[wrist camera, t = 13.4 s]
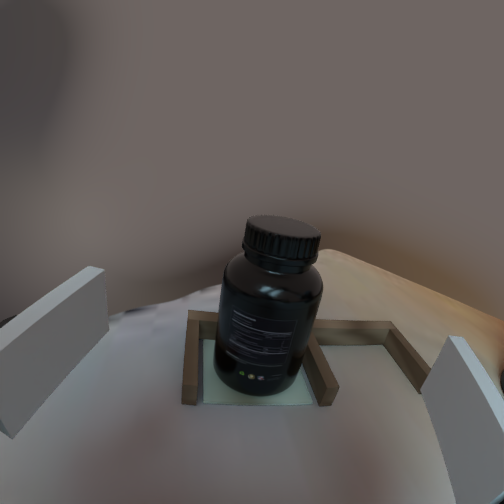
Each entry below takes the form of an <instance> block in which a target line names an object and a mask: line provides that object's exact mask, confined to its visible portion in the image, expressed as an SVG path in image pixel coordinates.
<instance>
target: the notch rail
mask: <svg viewBox="0 0 504 504" xmlns="http://www.w3.org/2000/svg"><path fill="white" fill-rule="evenodd" d="M217 319H218V313H215V312H204V311H194V310H188V320H187V331H186V343H185V355H184V369H183V383H182V404H187V405H196V401H197V389H198V345H199V339H203V403H207V404H226V405H308V404H312V403H313V402H312V399H311V396H310V394H309V391H308V388H307V386H306V383H305V380H304V378H303V375H302V372H301V370H300V369H299V372H298V375H297V377H296V380H295V381H294V383H293V384H292V385H291V386H290V387H289V388H288V389H286V390H285V391H283V392H281V393H279V394H276V395H272V396H265V397H257V396H249V395H245V394H242V393H239V392H237V391H235V390H233V389H231V388H229V387H228V386H227V385H225V384H224V383H223V382H222V381H221V380H220V379H219V377H218V376H217V374H216V372H215V370H214V366H213V355H214V345H215V336H216V328H217ZM381 344H383V345H384V346H385V348H386V349H387V350H388V352H389V353H390V354H391V356H392V357H393V358H394V360H395V361H396V362H397V364H398V365H399V367H400V368H401V369H402V371H403V372H404V373H405V375H406V376H407V378H408V379H409V380H410V382H411V383H412V385H413V386H414V387H415V389H416V390H417V392H418V393H419V394H422V393H421V391H420V389H421V387H422V385H423V384H424V382H425V380H426V378H427V376H428V375H429V373H430V371H431V368H430V367H429V366H428V365H427V364H426V362H425V361H424V360H423V359H422V357H421V356H420V355H419V354H418V353H417V351H416V350H415V349H414V348H413V347H412V346H411V344H410V343H409V342H408V341H407V340H406V338H405V337H404V336H403V335H402V334H401V333H400V331H399V330H398V329H397V328H396V327H395V326H394V324H393V323H392V322H391V321H348V320H320V319H315V322H314V325H313V328H312V332H311V335H310V338H309V341H308V345H307V348H306V351H305V354H304V357H303V360H302V364H303V366H304V369H305V371H306V374H307V376H308V379H309V382H310V384H311V387H312V389H313V392H314V394H315V397H316V399H317V402H318V405H319V406H331V405H332V403H333V400H334V398H335V396H336V394H337V392H338V390H339V385H338V383H337V381H336V379H335V377H334V375H333V373H332V371H331V369H330V367H329V364H328V362H327V360H326V358H325V356H324V354H323V352H322V350H321V348H320V346H319V345H381Z"/></svg>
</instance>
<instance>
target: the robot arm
mask: <svg viewBox="0 0 504 504" xmlns="http://www.w3.org/2000/svg"><path fill="white" fill-rule="evenodd" d="M108 331H109V322H108V312H107V298H106V283H105V270H104V269H100V268H96V267H92V266H88V267H86V268H85V269H84V270H82V271H80V272H79V273H77V274H76V275H74V276H73V277H72V278H70V279H68V280H67V281H66V282H64V283H62V284H61V285H60V286H58V287H57V288H55V289H54V290H52V291H51V292H49V293H48V294H47V295H45V296H44V297H43V298H41V299H40V300H38V301H37V302H35V303H34V304H33V305H31V306H30V307H28V308H27V309H26V310H24V311H23V312H22V313H20V314H19V315H15V316H13V317H10V318H7V319H5V320H3V321H2V322H0V431H2V432H3V433H4V434H6V435H7V436H8V437H10V438H11V439H13V438H14V437H15V436H16V435H17V433H18V432H19V431H20V430H21V429H22V427H23V426H24V425H25V424H26V423H27V421H28V420H29V419H30V418H31V417H32V415H33V414H34V413H35V412H36V411H37V410H38V408H39V407H40V406H41V405H42V404H43V403H44V402H45V400H46V399H47V398H48V397H49V396H50V395H51V393H52V392H53V391H54V390H55V389H56V388H57V387H58V386H59V384H60V383H61V382H62V381H63V380H64V379H65V378H66V377H67V375H68V374H69V373H70V372H71V371H72V370H73V369H74V368H75V367H76V365H77V364H78V363H79V362H80V361H81V360H82V359H83V358H84V357H85V356H86V354H87V353H88V352H89V351H90V350H91V349H92V348H93V347H94V346H95V345H96V344H97V343H98V341H99V340H100V339H101V338H102V337H103V336H104V335H105V334H106V333H107V332H108ZM501 383H502V388H503V391H504V370H503V372H502V375H501ZM420 391H421V393H422V396H423V399H424V401H425V404H426V407H427V410H428V412H429V415H430V418H431V421H432V424H433V427H434V429H435V432H436V435H437V438H438V441H439V445H440V448H441V451H442V454H443V457H444V460H445V464H446V467H447V471H448V474H449V478H450V481H451V485H452V488H453V492H454V496H455V500H456V504H504V400H503V399H502V397H501V395H500V393H499V392H498V390H497V388H496V387H495V385H494V383H493V382H492V380H491V379H490V377H489V375H488V374H487V372H486V371H485V369H484V368H483V366H482V364H481V363H480V361H479V360H478V358H477V357H476V355H475V354H474V352H473V351H472V349H471V348H470V346H469V345H468V343H467V342H466V341H465V339H464V338H463V337H457V336H449V335H448V338H447V340H446V342H445V344H444V346H443V348H442V350H441V352H440V354H439V356H438V358H437V360H436V362H435V363H434V365H433V367H432V369H431V371H430V373H429V375H428V376H427V378H426V380H425V382H424V384H423V385H422V387H421V389H420Z"/></svg>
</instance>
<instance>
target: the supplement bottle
mask: <svg viewBox="0 0 504 504" xmlns="http://www.w3.org/2000/svg"><path fill="white" fill-rule="evenodd" d="M320 238H321V232H319V230H318V229H317V228H315V227H314V226H312V225H310V224H307V223H305V222H302V221H299V220H295V219H292V218H287V217H281V216H274V215H256V216H252V217H249V219H247V223H246V229H245V236H244V238H243V241H242V248H243V250H244V252H242V253H239V254H238V255H236V256H235V257H233V258H232V259H231V260H230V261H229V262H228V264H227V265H226V267H225V270H224V274H223V280H222V287H221V295H220V303H219V311H218V319H217V328H216V336H215V345H214V355H213V366H214V370H215V372H216V374H217V376H218V377H219V379H220V380H221V381H222V382H223V383H224V384H225V385H227V386H228V387H229V388H231V389H233V390H235V391H237V392H239V393H242V394H245V395H249V396H257V397H265V396H272V395H276V394H279V393H281V392H283V391H285V390H286V389H288V388H289V387H290V386H291V385H292V384H293V383H294V381H295V380H296V377H297V375H298V372H299V369H300V367H301V363H302V360H303V357H304V354H305V351H306V348H307V345H308V341H309V338H310V335H311V332H312V328H313V325H314V322H315V318H316V315H317V311H318V308H319V304H320V301H321V297H322V292H323V282H322V279H321V276H320V274H319V272H318V271H317V270H316V269H315V268H314V266H312V264H314V263H315V262H316V261H317V257H318V247H319V243H320Z"/></svg>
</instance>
